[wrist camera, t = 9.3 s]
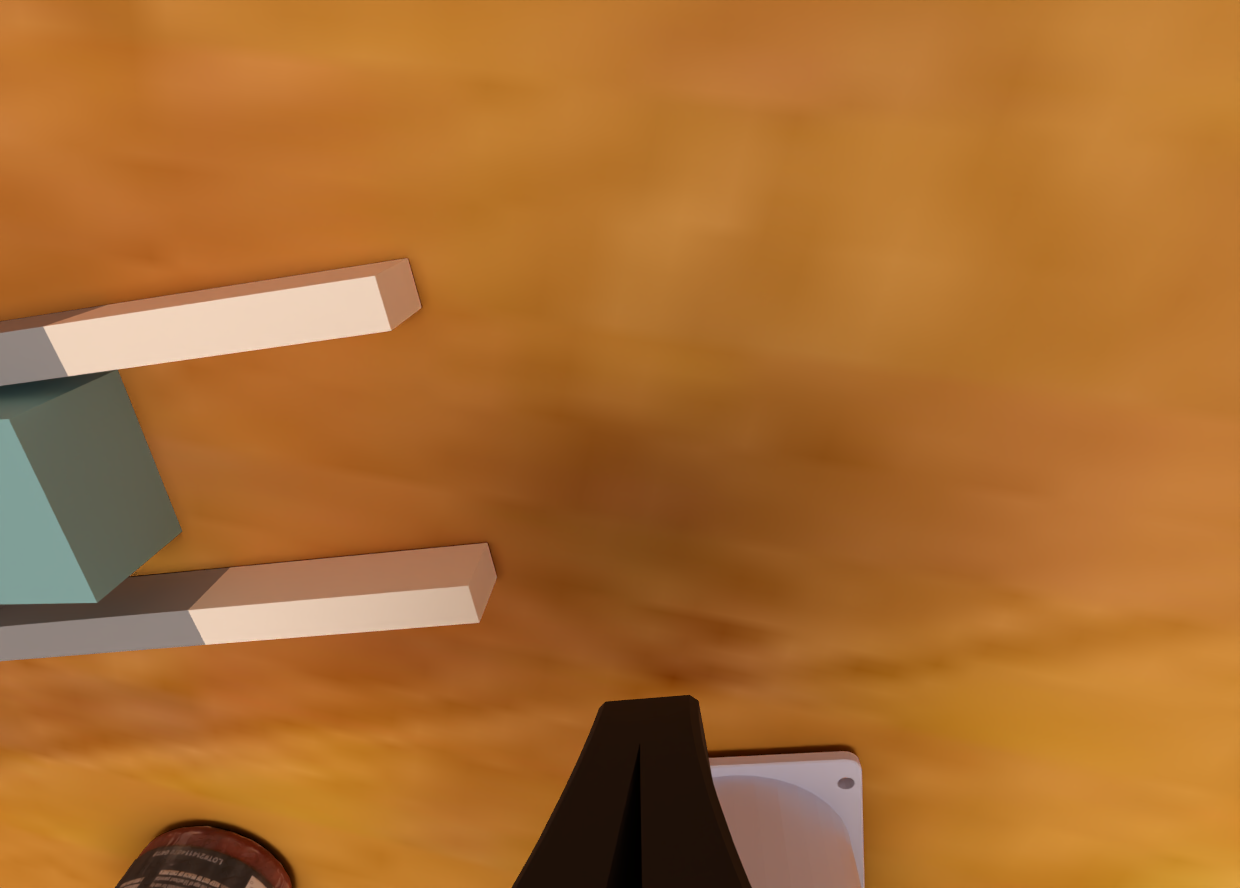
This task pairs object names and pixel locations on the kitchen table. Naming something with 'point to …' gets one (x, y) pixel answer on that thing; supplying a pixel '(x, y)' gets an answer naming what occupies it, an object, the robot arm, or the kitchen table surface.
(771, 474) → the kitchen table surface
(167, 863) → the supplement bottle
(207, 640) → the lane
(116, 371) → the block
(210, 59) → the kitchen table surface
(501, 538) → the kitchen table surface
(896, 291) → the kitchen table surface
